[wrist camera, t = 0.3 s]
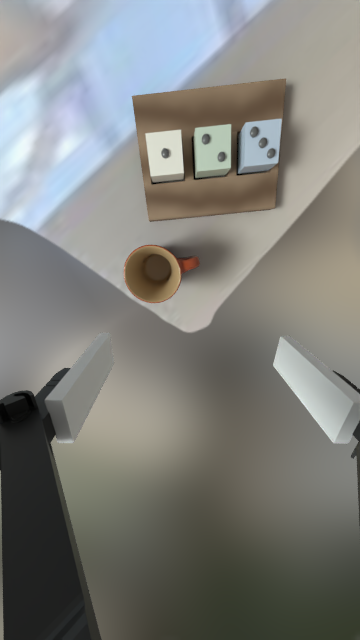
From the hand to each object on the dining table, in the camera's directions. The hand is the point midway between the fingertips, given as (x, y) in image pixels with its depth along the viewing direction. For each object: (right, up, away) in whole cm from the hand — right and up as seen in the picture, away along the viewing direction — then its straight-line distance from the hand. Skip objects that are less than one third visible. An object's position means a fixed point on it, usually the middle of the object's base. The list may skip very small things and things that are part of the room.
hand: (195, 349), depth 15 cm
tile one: (-3, +28, +16) cm, 32 cm away
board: (+4, +29, +17) cm, 34 cm away
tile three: (+11, +29, +15) cm, 34 cm away
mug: (-4, +13, +24) cm, 28 cm away
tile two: (+4, +28, +15) cm, 32 cm away
